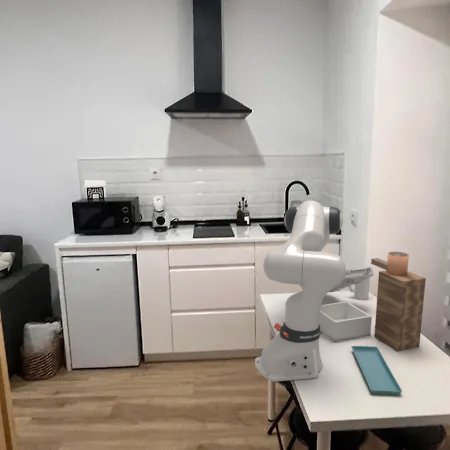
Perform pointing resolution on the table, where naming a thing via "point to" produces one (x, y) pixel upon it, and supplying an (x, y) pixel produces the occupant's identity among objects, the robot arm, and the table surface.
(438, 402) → the table surface
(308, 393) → the table surface
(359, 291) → the mug
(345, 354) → the table surface
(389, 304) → the wooden block
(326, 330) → the bin
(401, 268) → the pot
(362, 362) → the teal serving tray
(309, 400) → the table surface
